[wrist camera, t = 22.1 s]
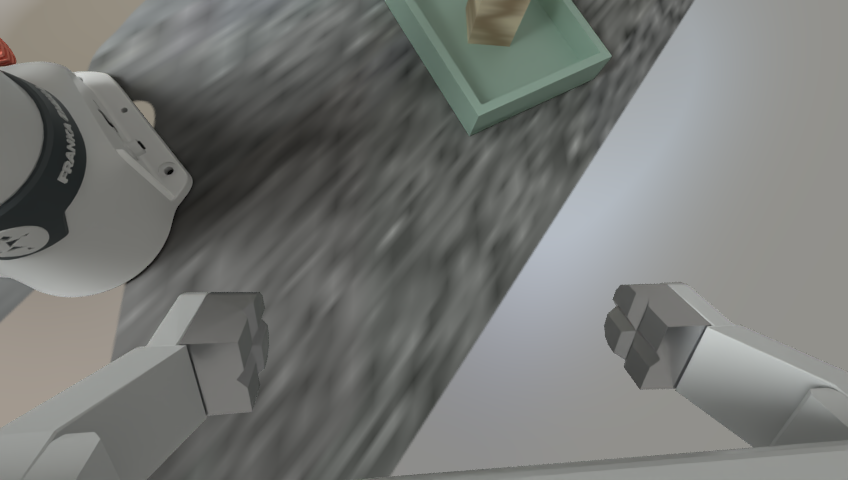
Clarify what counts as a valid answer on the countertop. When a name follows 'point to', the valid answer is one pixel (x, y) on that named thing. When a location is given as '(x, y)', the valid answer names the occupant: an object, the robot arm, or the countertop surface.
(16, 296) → the countertop surface
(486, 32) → the maple block
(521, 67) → the tray
